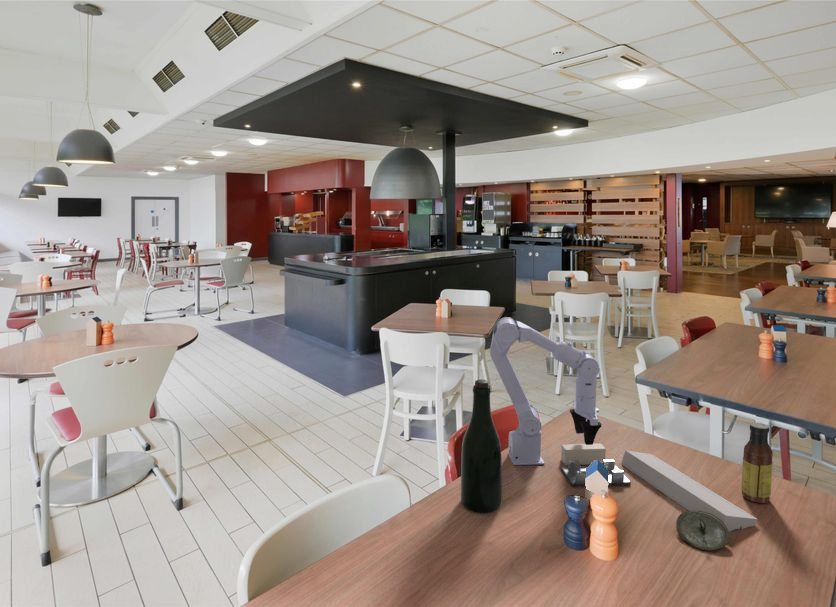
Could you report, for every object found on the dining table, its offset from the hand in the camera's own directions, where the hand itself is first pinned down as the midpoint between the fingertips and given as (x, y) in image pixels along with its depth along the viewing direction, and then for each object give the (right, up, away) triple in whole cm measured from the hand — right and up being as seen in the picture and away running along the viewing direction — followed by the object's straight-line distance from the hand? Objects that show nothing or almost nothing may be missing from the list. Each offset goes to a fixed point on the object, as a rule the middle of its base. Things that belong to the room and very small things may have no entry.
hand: (584, 438), depth 145 cm
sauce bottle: (+38, -10, -19) cm, 43 cm away
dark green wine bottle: (-33, -11, -20) cm, 40 cm away
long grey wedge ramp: (+21, -11, -15) cm, 28 cm away
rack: (0, -9, -8) cm, 12 cm away
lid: (+15, -13, -35) cm, 40 cm away
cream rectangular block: (0, -7, +1) cm, 8 cm away
